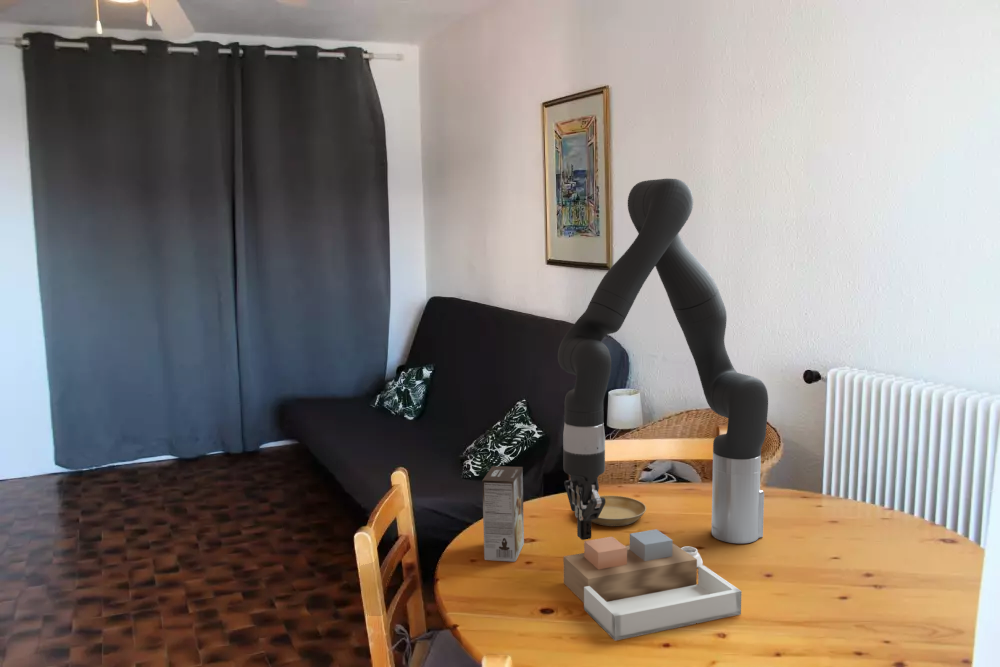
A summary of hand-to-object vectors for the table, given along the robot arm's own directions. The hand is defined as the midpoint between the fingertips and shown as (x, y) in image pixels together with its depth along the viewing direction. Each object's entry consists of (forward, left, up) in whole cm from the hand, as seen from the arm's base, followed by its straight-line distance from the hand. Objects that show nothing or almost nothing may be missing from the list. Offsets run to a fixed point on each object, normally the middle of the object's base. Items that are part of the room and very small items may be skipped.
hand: (584, 537), depth 155 cm
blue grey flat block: (-9, +8, -1) cm, 12 cm away
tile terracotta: (0, +8, -1) cm, 8 cm away
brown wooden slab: (-5, +9, -6) cm, 12 cm away
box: (-5, +20, -6) cm, 21 cm away
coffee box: (+11, -13, -6) cm, 18 cm away
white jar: (-19, +5, -6) cm, 21 cm away
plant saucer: (-17, -22, -7) cm, 29 cm away
